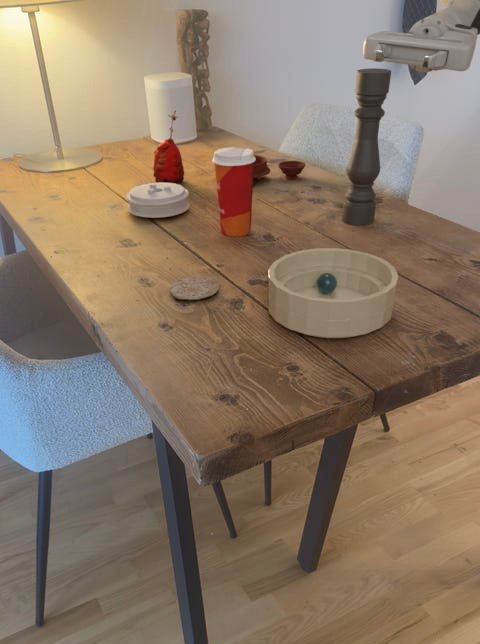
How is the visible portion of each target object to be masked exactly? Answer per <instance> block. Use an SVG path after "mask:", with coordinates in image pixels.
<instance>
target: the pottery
mask: <svg viewBox="0 0 480 644" xmlns="http://www.w3.org/2000/svg"><path fill="white" fill-rule="evenodd" d="M254 157H255V159H256V160H255V161H254V169H253V182H254V183H256V182H258V181H259V178H261V177H265V176H267V175H269V174H271V168H270V167H268V159H267V158H266V157H264V156H262V155H256V154H254ZM277 165H278V168H279V169H280V172H281V173H282V174H283V175H284V179H285V180H287V181H295V180H297V179H298V177H299V176H298V175H300V174H301V173H302V171H303V170H304V169H305V168H306V163H305V162H303V161H299V160H285V161H281V162H279V163H278V164H277ZM257 180H258V181H257Z"/></svg>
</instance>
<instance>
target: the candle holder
mask: <svg viewBox="0 0 480 644" xmlns="http://www.w3.org/2000/svg"><path fill="white" fill-rule="evenodd" d="M391 76H392V70H391V69H388V68H376V67H375V68H361V69H358V70H357V71H356V78H355V89H354V90H355V91H354V93H355V94H356V96H355V98H356V100H357V104H358V107H357V108H356V109H355V110H354V114H353V115H354V116H355V117H356V120H357V125H356V132H355V133H356V134H355V140H354V143H353V146H352V149H351V153H350V156H349V158H348V159H349V160H348V162H347V166H346V174H347V177H348V179H349V181H350V182H349V184H350V187H349V189H348V190H347V191H346V192H345V195H344V196H345V198H346V199H345V200H344V201H343V204H342V215H341V220H342V222H343V223H345V224H346V225H350V226H367V225H371V224H373V223H374V221H375V215H376V208H377V202H376V201H375V199H376V196H377V194H376V193H375V190H374V188H373V186H374V185H375V181H376V180H377V178H378V177H379V175H380V172H381V159H380V149H379V148H380V147H379V139H378V138H379V130H380V122H381V120H382V118H383V117H384V116H385V114H386V111H385V110H384V109H383V108H382V105H383V104H384V103H385V100H387V98H388V97H387V95H388V94H389V93H390V84H391Z"/></svg>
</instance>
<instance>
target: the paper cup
mask: <svg viewBox="0 0 480 644" xmlns="http://www.w3.org/2000/svg"><path fill="white" fill-rule="evenodd" d="M254 155H255V154H254V151H253V150H252V149H251V148H245V147H236V146H233V147H231V146H230V147H223V148H218V149H217V150H215V151H214V153H213V158H212V160H211V161H212V163H213V165H214V174H215V175H214V177H215V184H216V185H215V186H216V196H217V206H218V216H219V224H220V232H221V234H222V235H224V236H227V237H243V236H246V235H249V234H250V232H251V229H252V228H251V226H252V210H253V191H254V190H253V189H254V183H253V169H254V161H255V160H256V159H255V157H254Z"/></svg>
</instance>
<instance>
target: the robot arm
mask: <svg viewBox="0 0 480 644" xmlns="http://www.w3.org/2000/svg"><path fill="white" fill-rule="evenodd" d="M438 1H439V2H440V3H441V4H442V5H443V6H444V7H445V8H444V9H440V10H438V11H437V12H435V13H433V14H431V15H428V16H426V17H424V18H422V19H420V20H418V21H417V22H415V23H414V24H413V25H412V27H411V28H410V29H409V31H408V32H407V33H406V32H400V31H399V32H398V31H378V32H374V33H371V34H368V35H366V36H365V37H364V40H363V43H362V44H363V45H362V58H363V59H365V60H369V61H372V62H376V63H382V62H386V63H394V64H401V65H409V66H410V67H411V68H412V69H413V70H415V71H417V72H420V73H429V72H432V71H435V72H437V71H442V70H450V71H457V72H464V71H468V69H469V68H470V67H471V64H472V61H473V57H474V54H475V50H476V46H477V40H478V36H479V35H480V0H438Z"/></svg>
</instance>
